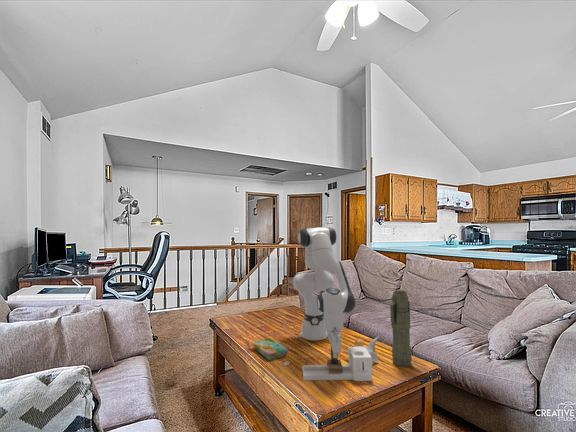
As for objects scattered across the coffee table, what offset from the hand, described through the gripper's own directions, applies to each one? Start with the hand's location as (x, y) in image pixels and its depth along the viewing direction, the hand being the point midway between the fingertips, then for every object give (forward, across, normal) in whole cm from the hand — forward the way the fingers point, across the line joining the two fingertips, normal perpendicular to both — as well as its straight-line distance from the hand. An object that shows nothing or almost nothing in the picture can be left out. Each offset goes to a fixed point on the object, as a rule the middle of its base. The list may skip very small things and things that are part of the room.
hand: (334, 355), depth 140 cm
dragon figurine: (+9, +17, -18) cm, 26 cm away
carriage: (+6, 0, 0) cm, 6 cm away
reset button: (-4, 0, -12) cm, 12 cm away
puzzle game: (+9, +26, +32) cm, 42 cm away
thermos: (+9, +11, -34) cm, 37 cm away
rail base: (+9, 0, 0) cm, 9 cm away
